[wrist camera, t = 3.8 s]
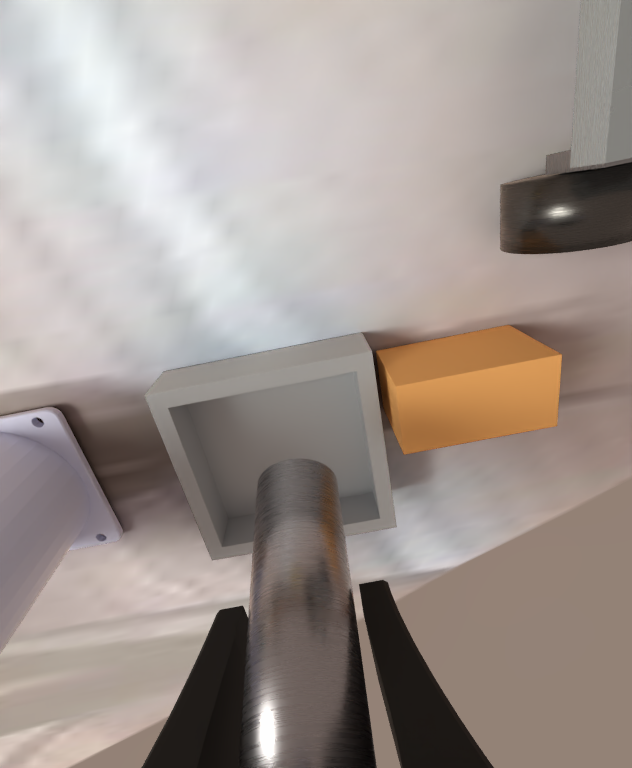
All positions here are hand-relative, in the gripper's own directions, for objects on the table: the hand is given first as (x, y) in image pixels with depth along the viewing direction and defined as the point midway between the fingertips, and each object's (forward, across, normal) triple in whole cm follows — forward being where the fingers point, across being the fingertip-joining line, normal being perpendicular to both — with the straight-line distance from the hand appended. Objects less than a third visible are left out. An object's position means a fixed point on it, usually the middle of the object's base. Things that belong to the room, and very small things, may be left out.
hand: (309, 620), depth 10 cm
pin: (+3, 0, -2) cm, 4 cm away
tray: (+10, +1, 0) cm, 10 cm away
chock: (+10, -7, -2) cm, 12 cm away
